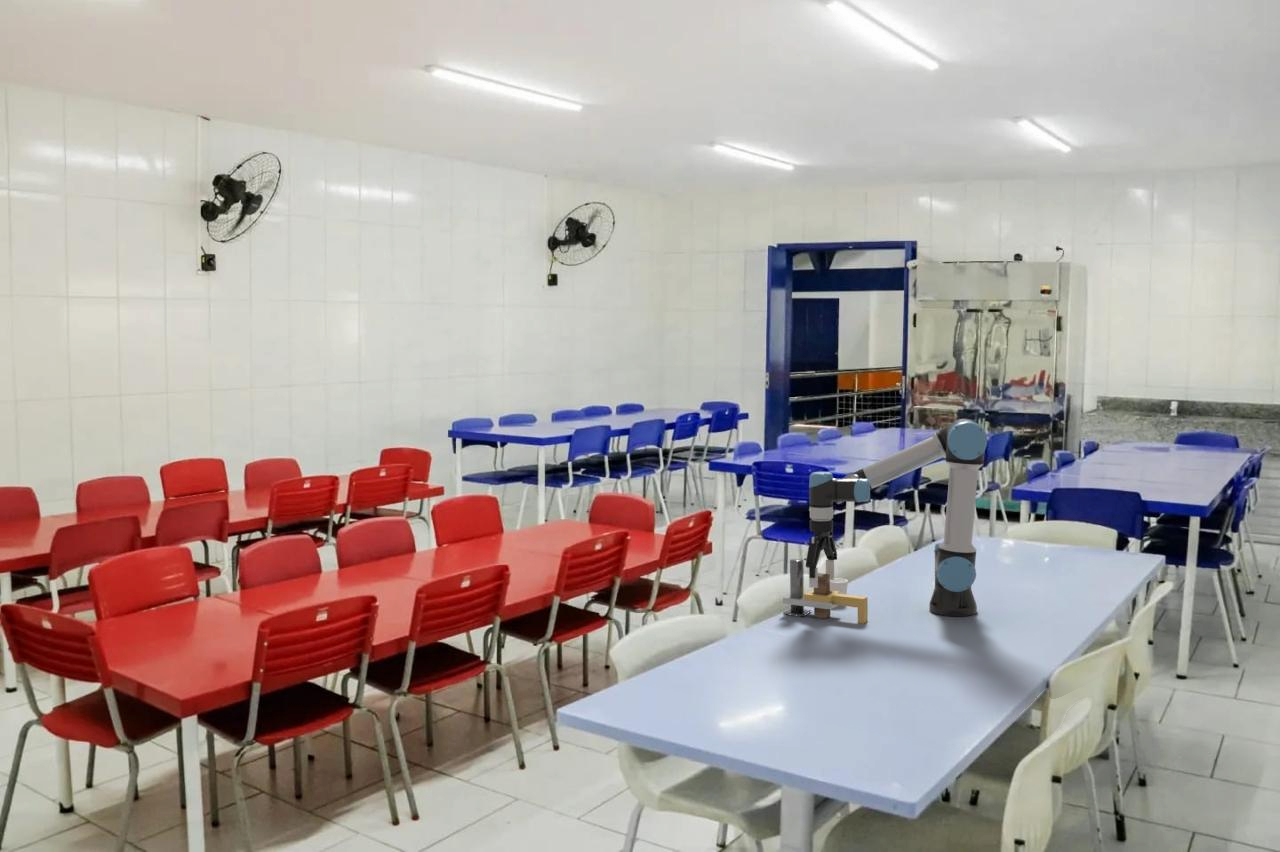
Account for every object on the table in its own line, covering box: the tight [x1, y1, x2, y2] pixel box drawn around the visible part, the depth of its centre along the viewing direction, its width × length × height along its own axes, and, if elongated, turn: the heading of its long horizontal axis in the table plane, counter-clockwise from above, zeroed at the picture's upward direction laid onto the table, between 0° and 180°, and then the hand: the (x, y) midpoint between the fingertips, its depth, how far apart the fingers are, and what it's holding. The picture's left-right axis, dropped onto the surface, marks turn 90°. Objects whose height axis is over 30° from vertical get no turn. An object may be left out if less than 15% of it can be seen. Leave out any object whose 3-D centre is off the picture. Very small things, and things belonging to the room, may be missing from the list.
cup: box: [830, 577, 849, 594], centre depth 365 cm, size 7×10×8 cm
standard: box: [782, 558, 839, 617], centre depth 349 cm, size 18×9×18 cm, turn 57°
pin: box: [813, 572, 831, 619], centre depth 347 cm, size 4×4×14 cm
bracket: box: [804, 588, 869, 625], centre depth 345 cm, size 20×9×8 cm, turn 57°
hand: (821, 583), depth 347 cm, fingers open, 13 cm apart
